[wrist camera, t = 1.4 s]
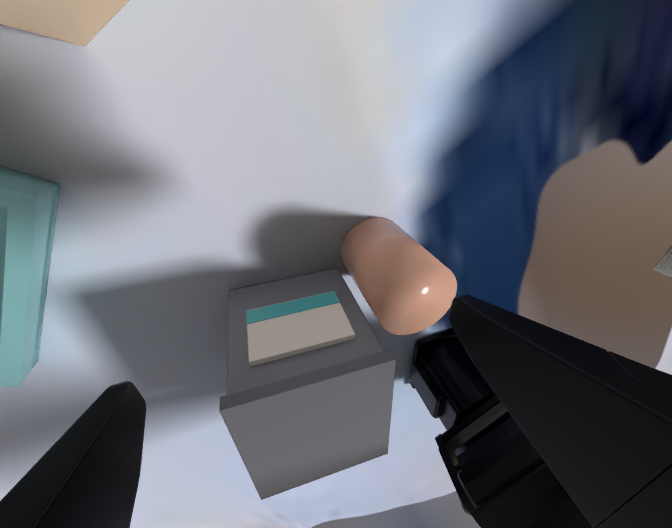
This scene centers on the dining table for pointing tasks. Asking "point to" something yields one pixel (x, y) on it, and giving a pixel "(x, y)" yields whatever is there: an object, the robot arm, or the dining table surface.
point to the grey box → (304, 381)
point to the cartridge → (397, 276)
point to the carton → (60, 17)
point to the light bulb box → (665, 264)
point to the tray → (23, 269)
